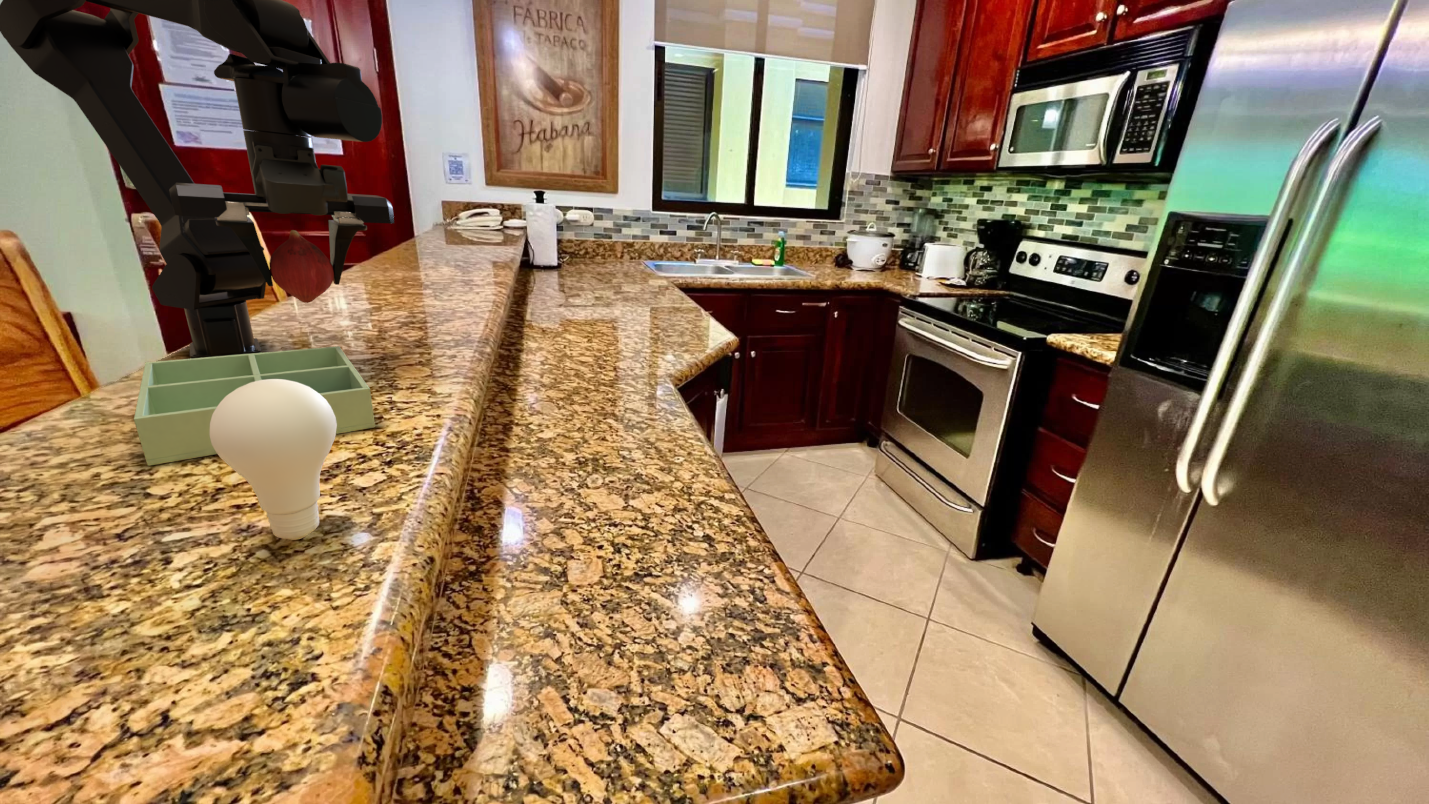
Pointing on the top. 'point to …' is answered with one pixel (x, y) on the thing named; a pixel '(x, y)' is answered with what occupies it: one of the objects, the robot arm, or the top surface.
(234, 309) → the robot arm
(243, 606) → the top surface
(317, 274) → the onion
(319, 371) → the divided tray
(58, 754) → the top surface
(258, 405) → the lightbulb
